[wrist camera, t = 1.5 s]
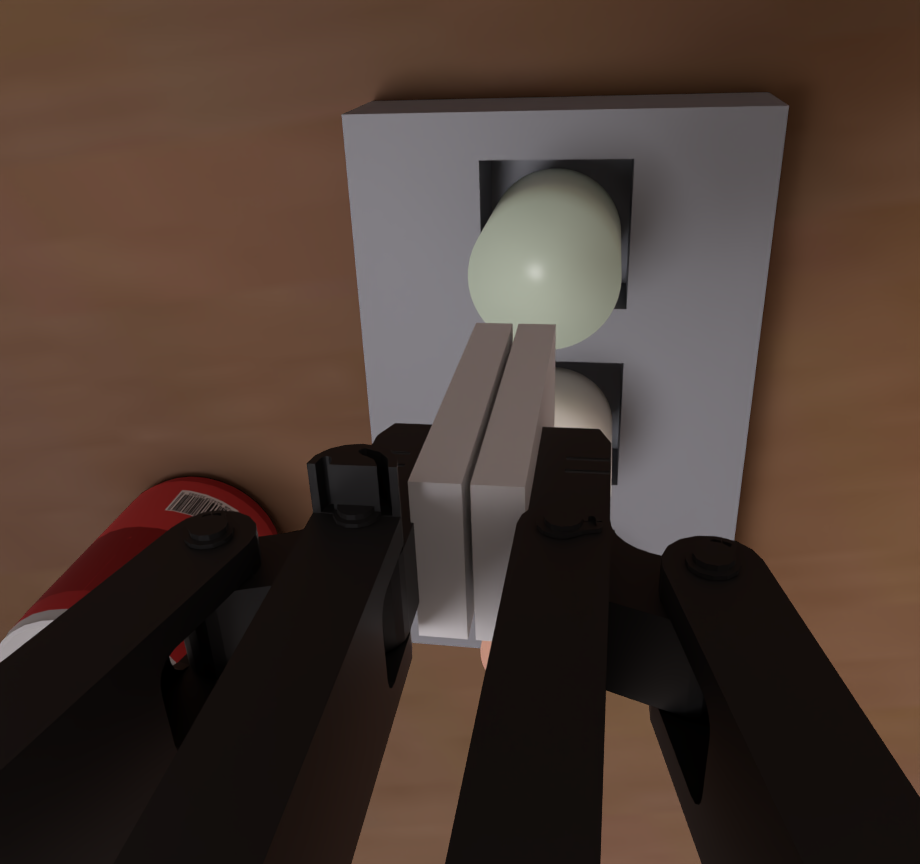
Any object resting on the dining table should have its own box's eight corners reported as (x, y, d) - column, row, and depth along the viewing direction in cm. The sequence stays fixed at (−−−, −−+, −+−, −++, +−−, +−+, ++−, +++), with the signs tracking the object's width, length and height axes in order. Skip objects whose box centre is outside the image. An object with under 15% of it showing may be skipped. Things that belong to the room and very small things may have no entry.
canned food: (104, 492, 42) (-49, 641, 33) (242, 452, 40) (121, 600, 30) (179, 614, 45) (59, 785, 35) (312, 583, 43) (222, 757, 33)
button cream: (492, 365, 32) (472, 425, 27) (614, 368, 31) (614, 431, 27) (495, 469, 34) (476, 542, 29) (609, 475, 33) (608, 550, 29)
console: (372, 100, 32) (341, 114, 28) (768, 91, 30) (788, 105, 26) (410, 586, 42) (390, 640, 38) (709, 607, 39) (718, 667, 36)
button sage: (488, 168, 28) (465, 201, 24) (624, 167, 28) (625, 200, 23) (491, 296, 30) (470, 348, 26) (618, 298, 30) (618, 352, 25)
